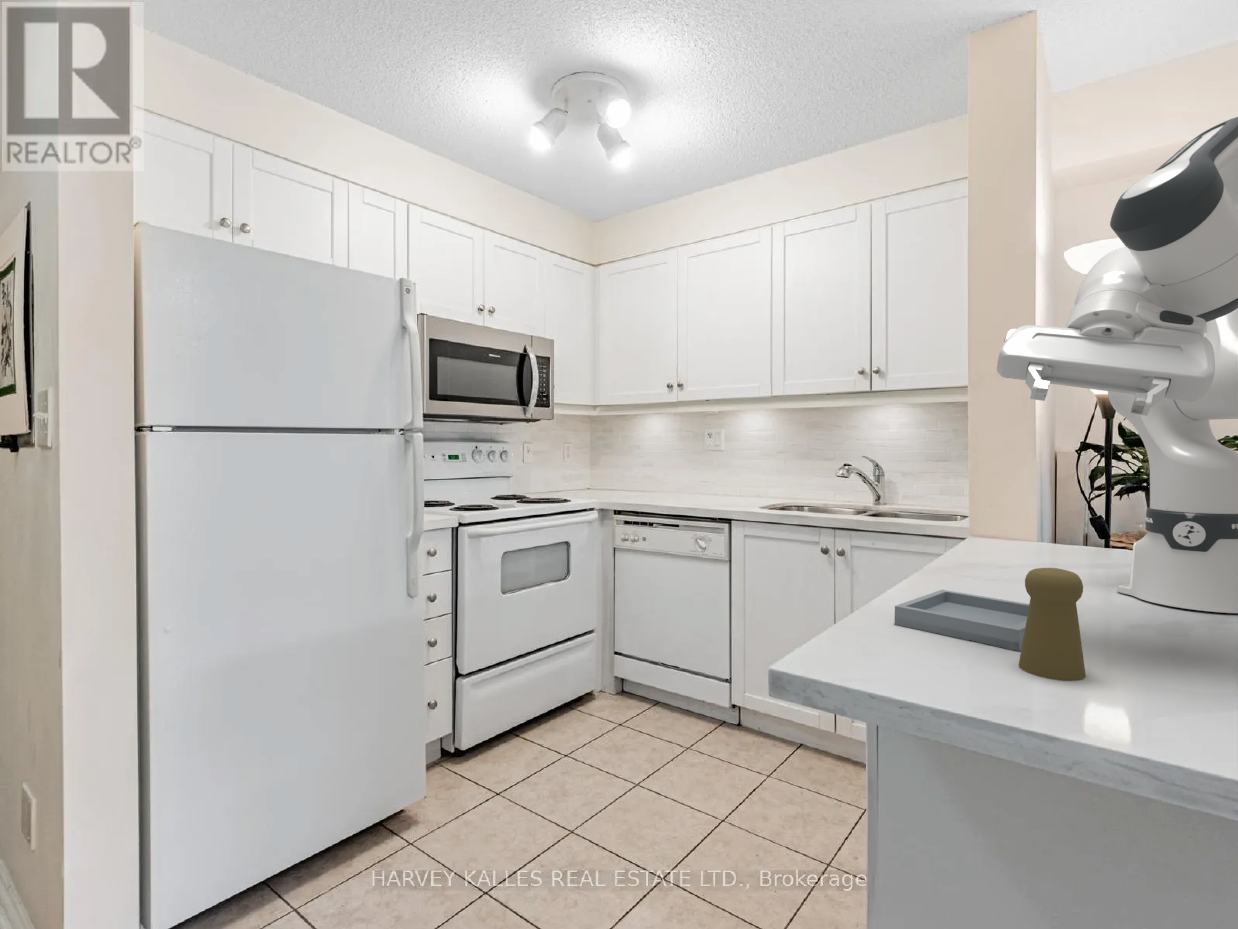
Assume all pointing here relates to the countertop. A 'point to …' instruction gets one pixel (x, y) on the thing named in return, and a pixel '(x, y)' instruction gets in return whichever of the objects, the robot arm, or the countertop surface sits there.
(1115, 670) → the countertop surface
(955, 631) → the slate grey tray
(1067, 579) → the cork
